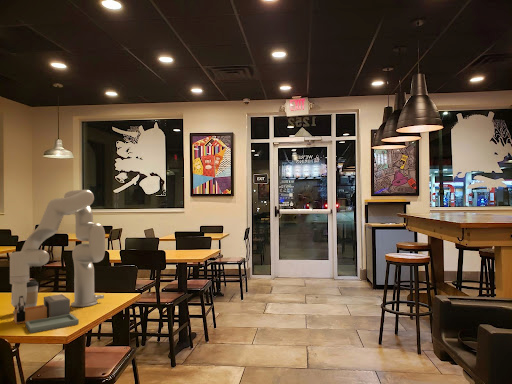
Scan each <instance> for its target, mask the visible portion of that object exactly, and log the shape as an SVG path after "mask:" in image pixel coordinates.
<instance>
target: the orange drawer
mask: <svg viewBox="0 0 512 384" xmlns="http://www.w3.org/2000/svg"><path fill="white" fill-rule="evenodd" d="M12 313H13V321H14V323H15V324H16V325H18V324H24V323H26V321H31V320H37V319H43V318H48V315H47V307H46V306H45V305H44V304H41V305H40V304H39V305H37V306H33V307H27V308H25V321H22V322H17V309H15V308H13V311H12Z"/></svg>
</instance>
